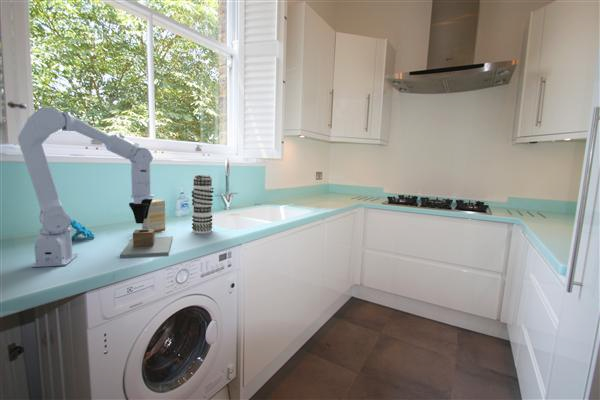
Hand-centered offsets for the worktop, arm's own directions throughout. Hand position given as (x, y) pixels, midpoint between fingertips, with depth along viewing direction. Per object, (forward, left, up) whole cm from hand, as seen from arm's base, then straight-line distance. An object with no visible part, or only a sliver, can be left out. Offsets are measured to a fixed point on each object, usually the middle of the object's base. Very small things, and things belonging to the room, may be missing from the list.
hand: (141, 220), depth 103 cm
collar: (-1, -1, -8) cm, 9 cm away
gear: (+14, +22, -10) cm, 28 cm away
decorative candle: (+20, -21, -10) cm, 30 cm away
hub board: (-1, -2, -9) cm, 10 cm away
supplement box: (+24, -1, -10) cm, 26 cm away
